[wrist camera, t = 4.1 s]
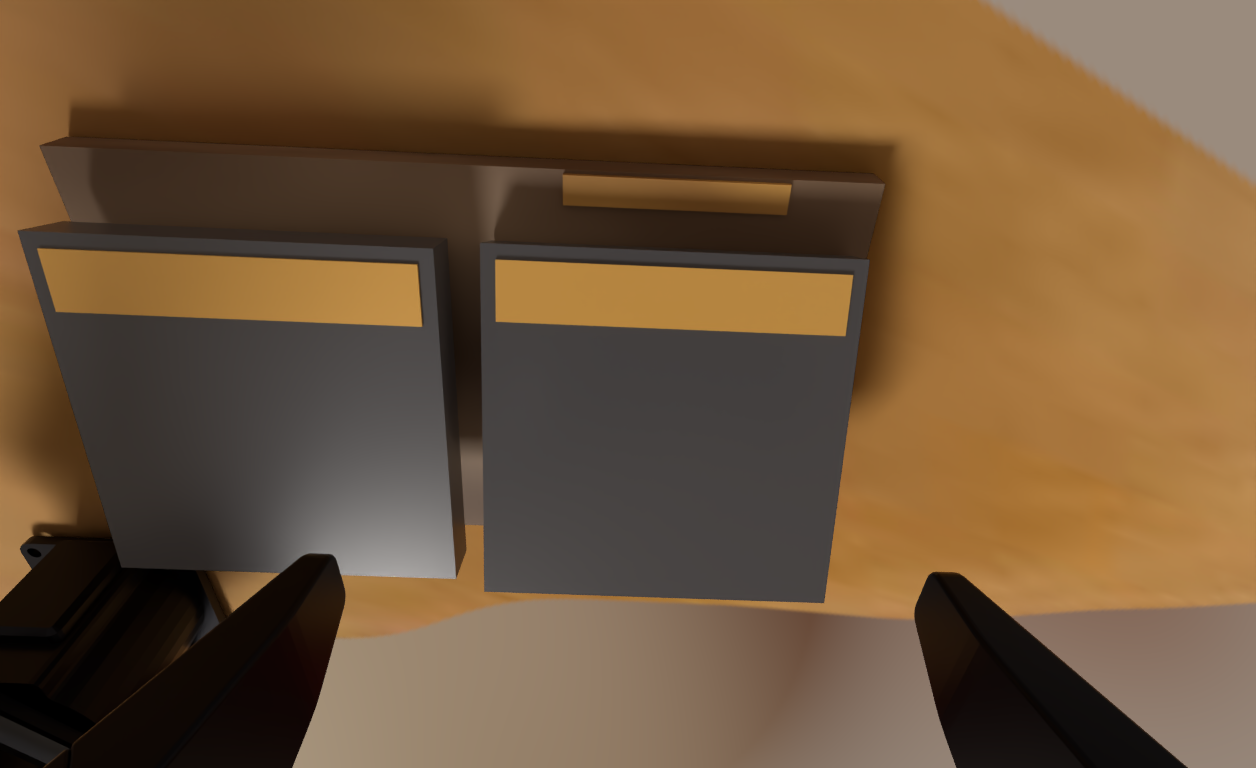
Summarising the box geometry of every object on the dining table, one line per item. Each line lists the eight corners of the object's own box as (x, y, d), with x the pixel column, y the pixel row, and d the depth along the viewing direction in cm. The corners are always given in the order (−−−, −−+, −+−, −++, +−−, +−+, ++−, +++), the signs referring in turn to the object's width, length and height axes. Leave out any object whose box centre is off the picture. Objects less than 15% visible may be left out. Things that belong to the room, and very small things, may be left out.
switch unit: (791, 517, 25) (803, 561, 24) (209, 496, 25) (176, 539, 23) (873, 173, 18) (900, 198, 17) (66, 136, 18) (2, 157, 16)
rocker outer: (810, 577, 21) (824, 604, 20) (493, 566, 21) (483, 592, 19) (851, 256, 18) (870, 259, 17) (490, 240, 18) (479, 243, 17)
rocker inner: (466, 550, 21) (455, 580, 20) (152, 539, 21) (119, 568, 20) (447, 238, 18) (432, 249, 16) (62, 221, 17) (14, 231, 16)
